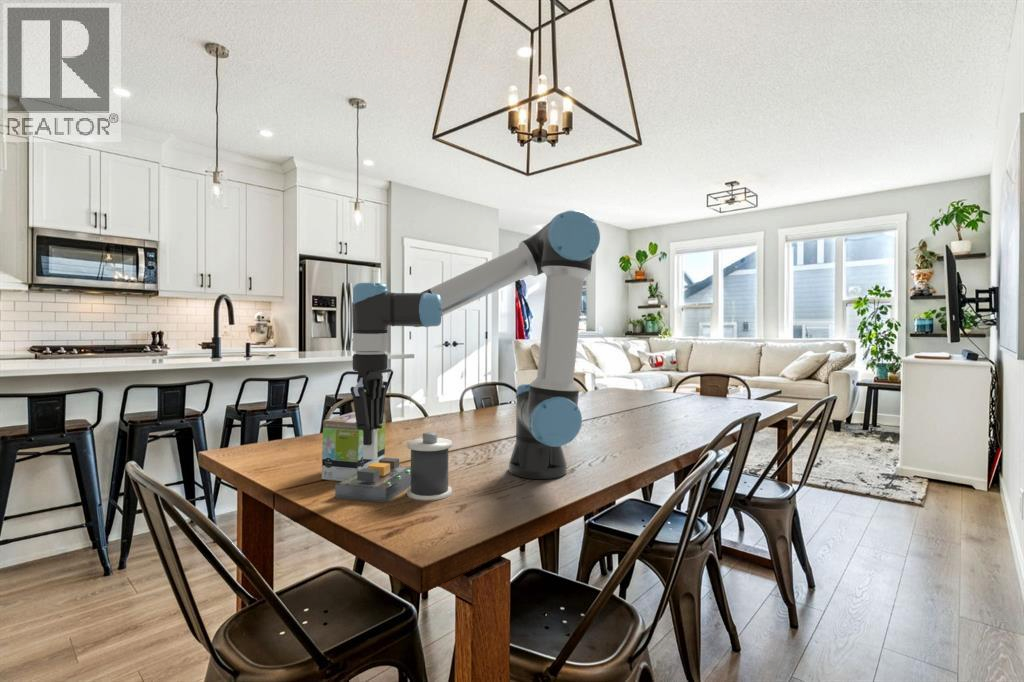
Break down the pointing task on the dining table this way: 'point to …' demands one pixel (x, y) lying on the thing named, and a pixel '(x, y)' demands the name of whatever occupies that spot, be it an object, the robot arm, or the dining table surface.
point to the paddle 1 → (368, 475)
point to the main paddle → (381, 468)
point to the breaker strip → (375, 486)
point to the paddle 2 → (390, 462)
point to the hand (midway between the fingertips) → (370, 458)
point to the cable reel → (429, 468)
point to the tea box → (346, 447)
